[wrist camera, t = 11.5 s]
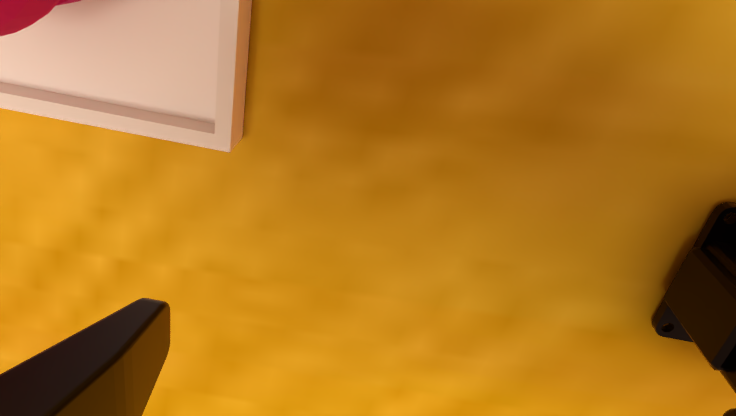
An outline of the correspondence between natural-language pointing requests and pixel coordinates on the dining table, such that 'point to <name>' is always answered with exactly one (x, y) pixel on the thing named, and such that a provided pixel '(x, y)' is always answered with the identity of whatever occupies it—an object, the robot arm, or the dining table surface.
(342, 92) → the dining table surface
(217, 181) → the dining table surface
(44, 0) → the pepper mill
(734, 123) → the dining table surface
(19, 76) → the dish
